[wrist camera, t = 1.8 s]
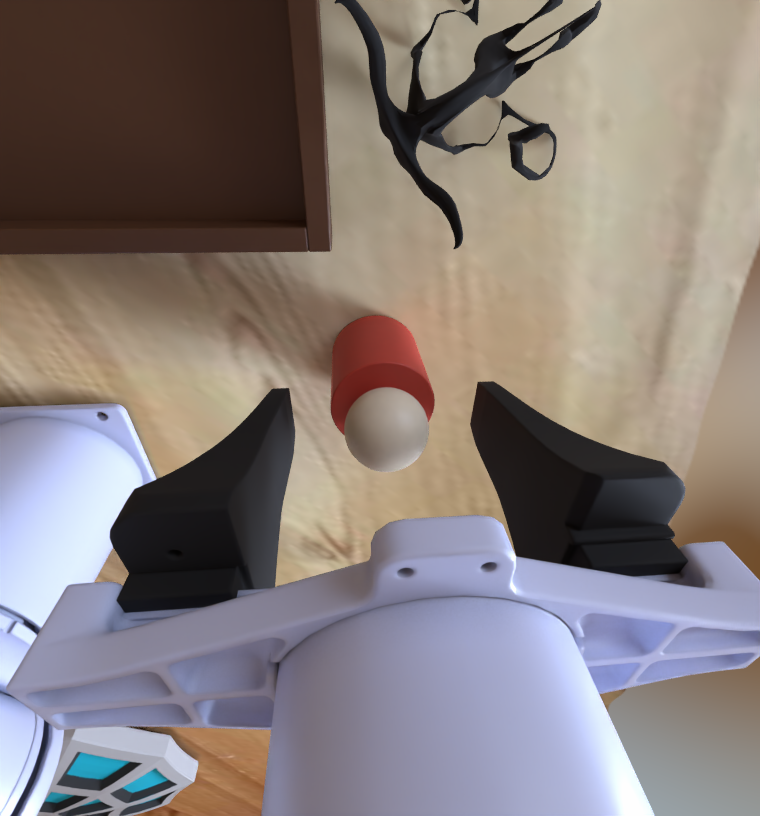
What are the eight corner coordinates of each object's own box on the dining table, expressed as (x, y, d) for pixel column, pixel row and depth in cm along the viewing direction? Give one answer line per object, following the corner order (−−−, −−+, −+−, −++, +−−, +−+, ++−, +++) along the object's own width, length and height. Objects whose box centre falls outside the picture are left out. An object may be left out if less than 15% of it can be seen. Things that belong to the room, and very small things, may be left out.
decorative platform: (62, 681, 34) (25, 755, 30) (246, 762, 51) (238, 818, 47) (-194, 756, 39) (-257, 830, 35) (51, 809, 55) (28, 863, 51)
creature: (519, -160, 11) (293, 22, 12) (705, -409, 6) (318, -93, 7) (587, 132, 15) (419, 257, 16) (730, 104, 11) (486, 282, 11)
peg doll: (334, 392, 20) (332, 503, 14) (329, 315, 17) (324, 410, 12) (413, 389, 20) (445, 496, 14) (419, 313, 18) (458, 404, 12)
